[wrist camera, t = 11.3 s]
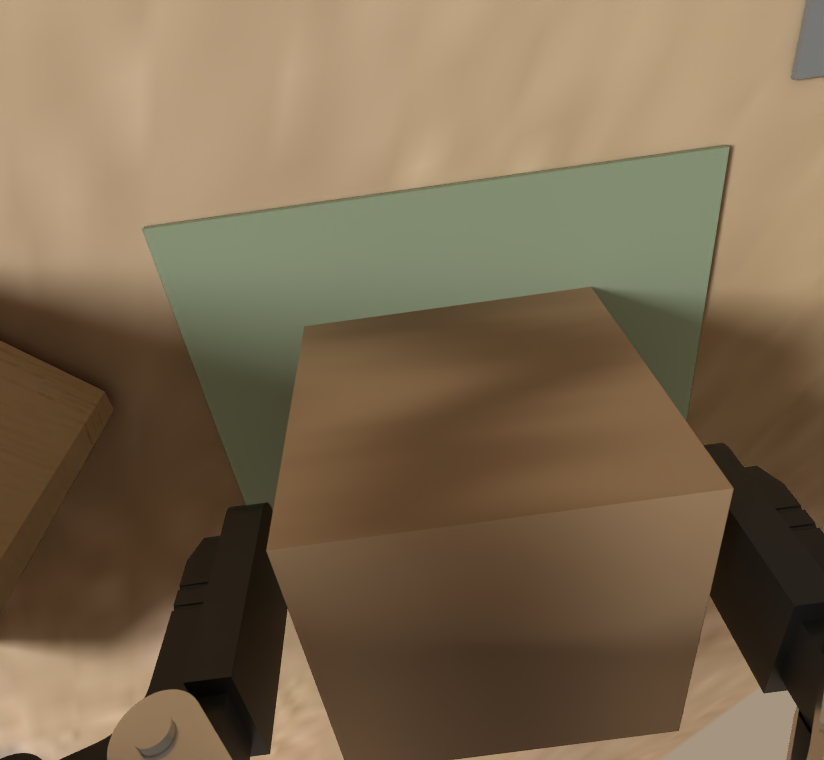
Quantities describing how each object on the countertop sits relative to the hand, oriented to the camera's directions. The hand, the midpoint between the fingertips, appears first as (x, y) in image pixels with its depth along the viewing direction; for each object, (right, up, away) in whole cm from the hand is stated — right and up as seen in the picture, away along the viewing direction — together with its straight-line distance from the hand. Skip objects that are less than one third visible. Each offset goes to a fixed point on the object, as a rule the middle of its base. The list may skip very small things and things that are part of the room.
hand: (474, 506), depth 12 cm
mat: (0, +2, +2) cm, 3 cm away
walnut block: (0, +2, +2) cm, 3 cm away
